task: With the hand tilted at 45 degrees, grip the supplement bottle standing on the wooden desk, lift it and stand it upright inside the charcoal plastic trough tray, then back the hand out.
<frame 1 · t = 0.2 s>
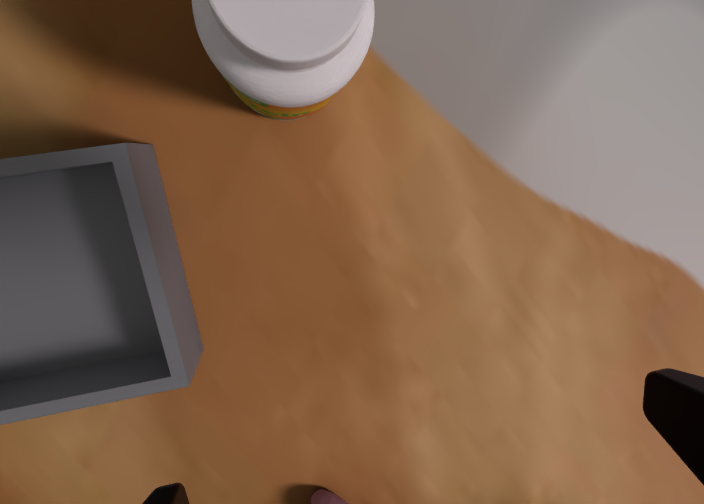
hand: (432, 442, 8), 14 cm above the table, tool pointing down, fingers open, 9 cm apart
trough tray: (66, 272, 19), on the table
supplement bottle: (283, 60, 19), on the table
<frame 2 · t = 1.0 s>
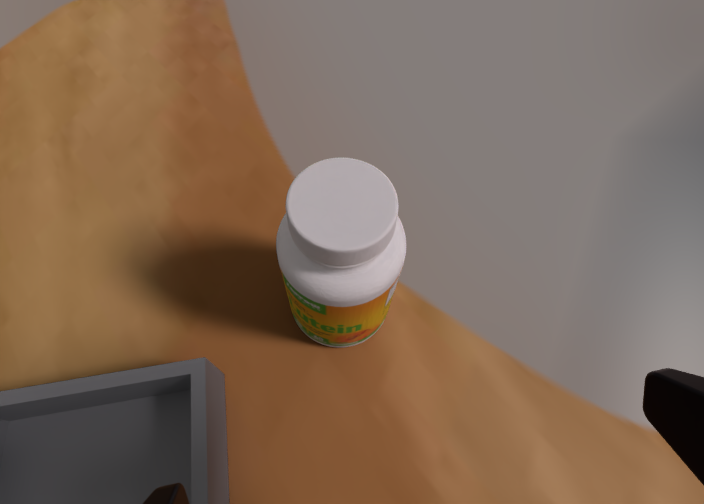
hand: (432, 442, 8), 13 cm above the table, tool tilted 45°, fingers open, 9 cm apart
supplement bottle: (339, 302, 23), on the table
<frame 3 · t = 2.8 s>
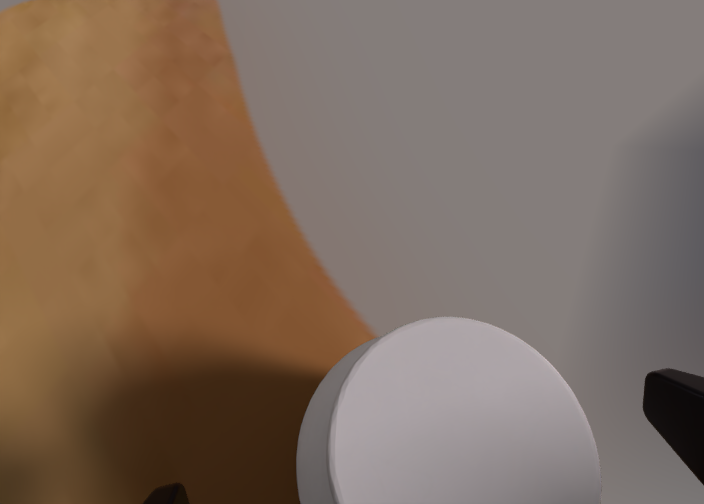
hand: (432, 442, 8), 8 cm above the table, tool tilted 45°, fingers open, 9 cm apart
supplement bottle: (389, 468, 15), on the table
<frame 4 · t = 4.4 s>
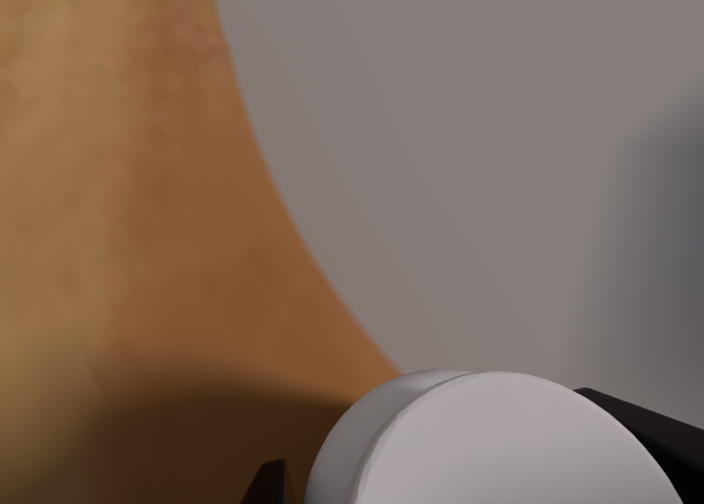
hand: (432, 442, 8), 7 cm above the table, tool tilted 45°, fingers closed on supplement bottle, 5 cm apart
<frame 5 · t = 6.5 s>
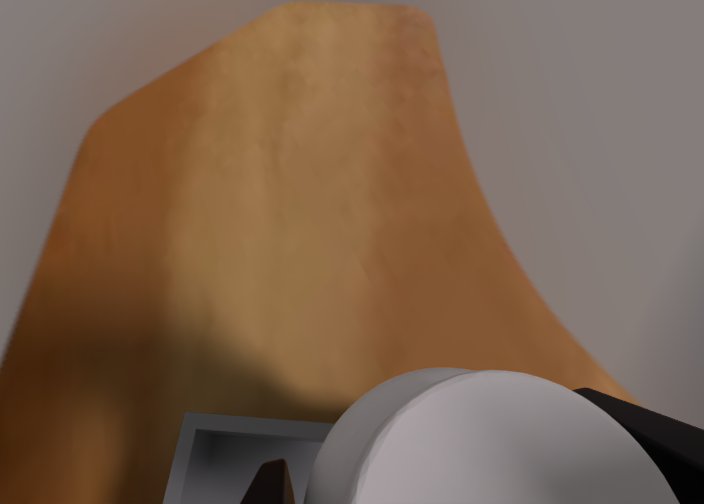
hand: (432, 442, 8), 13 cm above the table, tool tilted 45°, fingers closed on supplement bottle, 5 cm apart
when the fingers open (8 cm above the table, at t = 9.1 s): supplement bottle stays where it is, resting on trough tray.
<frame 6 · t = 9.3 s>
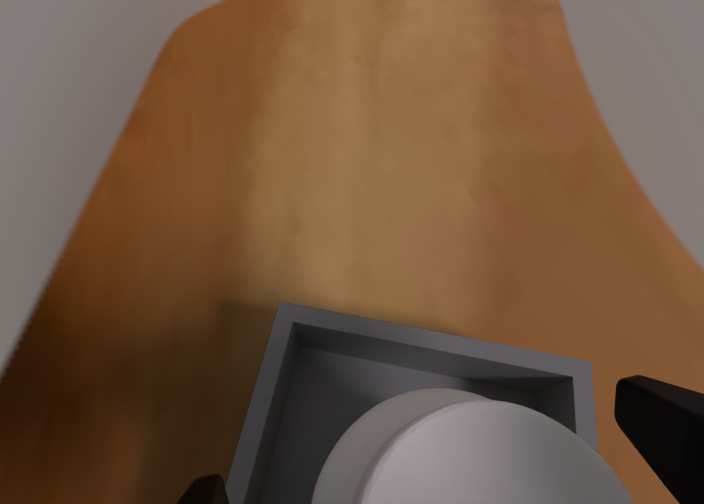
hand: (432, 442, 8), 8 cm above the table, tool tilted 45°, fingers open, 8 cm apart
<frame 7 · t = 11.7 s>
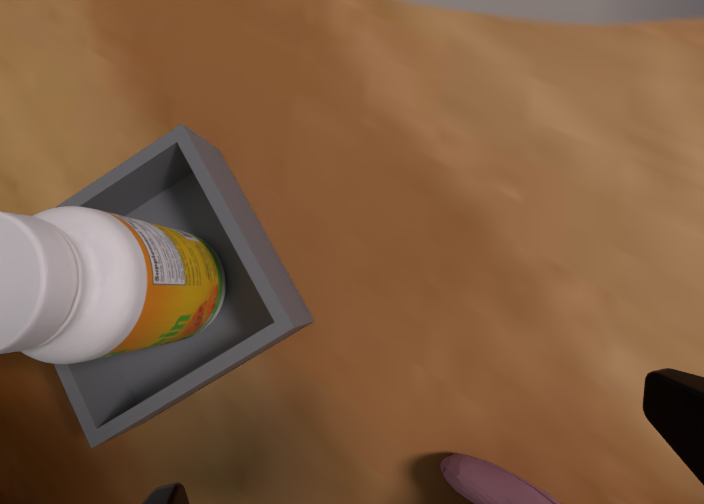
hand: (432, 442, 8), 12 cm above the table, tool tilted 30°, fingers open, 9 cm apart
trough tray: (181, 283, 22), on the table
supplement bottle: (180, 285, 21), resting on trough tray
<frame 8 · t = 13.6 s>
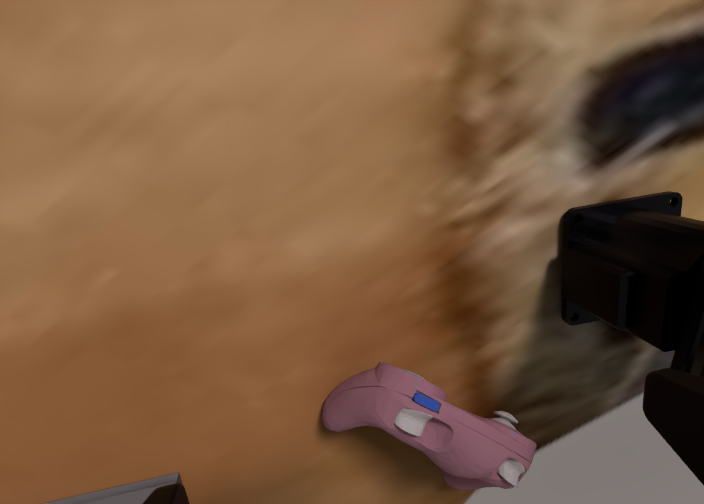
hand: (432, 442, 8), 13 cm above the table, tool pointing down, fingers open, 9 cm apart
video game controller: (413, 398, 24), on the table
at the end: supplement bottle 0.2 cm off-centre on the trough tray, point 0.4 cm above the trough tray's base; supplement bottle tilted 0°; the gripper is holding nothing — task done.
